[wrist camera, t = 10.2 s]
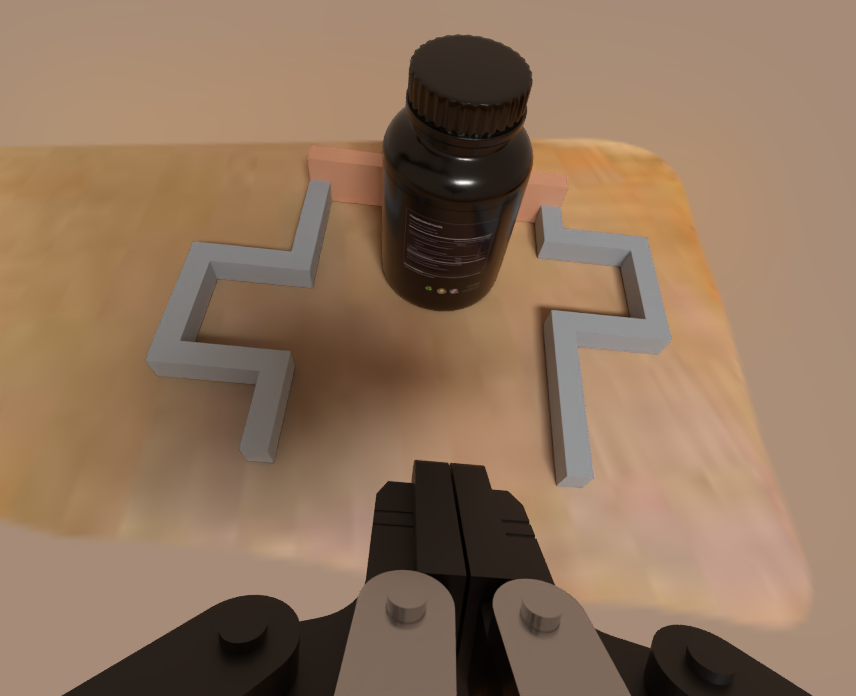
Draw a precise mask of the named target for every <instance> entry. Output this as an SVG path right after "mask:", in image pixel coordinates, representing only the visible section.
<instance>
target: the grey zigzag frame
mask: <svg viewBox="0 0 856 696" xmlns="http://www.w3.org/2000/svg"><path fill="white" fill-rule="evenodd" d="M307 160H308V167H309V174H310V182H309V186H308V190H307V193H306V197H305V201H304V205H303V209H302V212H301V216H300V220H299V224H298V227H297V231H296V235H295V239H294V243H293V246H292V250H291V251H283V250H273V249H263V248H254V247H244V246H234V245H225V244H215V243H205V242H196V241H193V244H192V246H191V249H190V251H189V253H188V256H187V258H186V261H185V263H184V266H183V268H182V271H181V273H180V275H179V278H178V280H177V283H176V285H175V288H174V290H173V293H172V295H171V298H170V300H169V302H168V305H167V307H166V310H165V312H164V315H163V317H162V320H161V322H160V325H159V327H158V329H157V332H156V334H155V337H154V339H153V342H152V344H151V347H150V349H149V351H148V354H147V356H146V359H145V361H146V362H147V364H148V365H149V366H150V368H151V369H152V370H153V371H154V373H155V374H156V375H157V376H165V377H177V378H188V379H199V380H210V381H221V382H233V383H244V384H255V385H256V387H255V390H254V394H253V398H252V402H251V405H250V409H249V413H248V417H247V421H246V424H245V428H244V432H243V436H242V440H241V443H240V447H239V450H240V452H241V453H242V455H243V456H244V457H245V459H246V460H247V461H256V462H269V463H274V459H275V455H276V450H277V446H278V441H279V437H280V432H281V428H282V423H283V419H284V414H285V410H286V405H287V401H288V396H289V392H290V387H291V383H292V378H293V374H294V369H295V364H294V361H293V357H292V353H291V351H284V350H273V349H263V348H252V347H241V346H230V345H220V344H209V343H198V342H195V341H196V338H197V335H198V332H199V330H200V327H201V324H202V321H203V318H204V316H205V313H206V310H207V307H208V304H209V301H210V299H211V296H212V293H213V290H214V287H215V284H216V282H217V279H225V280H235V281H246V282H256V283H266V284H276V285H286V286H296V287H306V288H313V284H314V279H315V275H316V270H317V266H318V261H319V257H320V252H321V248H322V243H323V239H324V234H325V230H326V225H327V221H328V216H329V212H330V207H331V203H332V201H339V202H348V203H357V204H366V205H376V206H382V153H374V152H366V151H357V150H348V149H340V148H331V147H322V146H313V145H311V147H310V151H309V154H308V158H307ZM567 190H568V181H567V174H558V173H549V172H540V171H531V175H530V178H529V181H528V184H527V188H526V191H525V194H524V197H523V200H522V203H521V206H520V209H519V212H518V215H517V218H516V221H522V222H532V223H535V233H536V245H537V257H538V258H542V259H552V260H561V261H571V262H580V263H590V264H599V265H609V266H618V267H620V268H621V273H622V278H623V283H624V288H625V293H626V299H627V304H628V309H629V314H630V318H628V317H617V316H607V315H597V314H587V313H577V312H567V311H557V310H551V312H550V313H549V315H548V317H547V319H546V321H545V323H544V325H543V329H544V342H545V354H546V366H547V378H548V390H549V402H550V414H551V426H552V438H553V450H554V462H555V474H556V486H565V487H578V488H582V487H584V486H585V485H586V484H587V483H589V482H590V481H591V480H593V479H594V474H593V466H592V458H591V450H590V442H589V434H588V426H587V418H586V410H585V402H584V394H583V386H582V378H581V370H580V362H579V353H578V347H585V348H595V349H605V350H616V351H626V352H637V353H647V354H657V355H658V354H659V353H660V352H661V351H662V350H663V349H664V348H665V347H666V346H667V345H668V344H669V343H670V342H671V341H672V338H671V334H670V330H669V325H668V321H667V317H666V313H665V309H664V305H663V301H662V297H661V293H660V288H659V284H658V280H657V276H656V272H655V268H654V264H653V260H652V256H651V252H650V247H649V243H648V239H647V237H639V236H630V235H621V234H612V233H603V232H593V231H584V230H575V229H566V228H563V224H562V216H561V208H560V207H561V204H562V202H563V200H564V197H565V195H566V193H567Z"/></svg>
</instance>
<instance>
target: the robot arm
mask: <svg viewBox="0 0 856 696" xmlns="http://www.w3.org/2000/svg"><path fill="white" fill-rule="evenodd" d="M62 696H812V695H810V694H809V693H807V692H806V691H804V690H803V689H801V688H799V687H797V686H796V685H795V684H793V683H792V682H790V681H788V680H787V679H785V678H783V677H782V676H781V675H779V674H777V673H776V672H774V671H773V670H771V669H769V668H768V667H766V666H765V665H763V664H761V663H760V662H758V661H757V660H755V659H754V658H752V657H750V656H749V655H747V654H746V653H744V652H743V651H741V650H740V649H738V648H736V647H735V646H733V645H732V644H730V643H728V642H727V641H725V640H723V639H722V638H720V637H718V636H716V635H714V634H712V633H710V632H707V631H705V630H702V629H699V628H695V627H691V626H686V625H670V626H666V627H663V628H661V629H660V630H658V631H657V632H656V634H655V635H654V638H653V640H652V644H651V648H648V647H645V646H642V645H638V644H635V643H632V642H629V641H626V640H623V639H620V638H617V637H614V636H611V635H608V634H606V633H603V632H601V631H599V630H597V629H595V628H594V626H593V625H592V623H591V621H590V619H589V617H588V616H587V614H586V612H585V610H584V609H583V607H582V606H581V605H580V604H579V603H578V601H577V600H576V599H574V598H573V597H572V596H571V595H570V594H568V593H567V592H565V591H564V590H562V589H560V588H559V587H557V586H555V584H554V582H553V579H552V577H551V574H550V572H549V569H548V567H547V564H546V562H545V559H544V557H543V554H542V552H541V549H540V547H539V544H538V542H537V539H535V534H534V532H533V529H532V527H531V525H529V519H528V517H527V514H526V512H525V509H524V507H523V505H522V504H521V503H520V502H519V501H518V500H517V499H516V498H515V497H514V496H513V495H512V494H510V493H509V492H508V491H503V490H492V488H491V485H490V482H489V479H488V475H487V472H486V469H485V467H484V466H481V465H469V464H458V463H450V465H449V464H448V463H445V462H433V461H421V460H414V465H413V473H412V482H411V483H404V482H392V481H388V482H387V483H386V484H385V485H384V486H383V487H382V488H381V489H380V491H379V492H378V493H377V494H376V502H375V510H374V518H373V526H372V534H371V542H370V551H369V559H368V567H367V575H366V581H365V585H364V586H363V588H362V590H361V591H360V593H359V596H358V597H357V598H356V599H355V600H354V601H353V602H352V603H351V604H350V605H348V606H347V607H345V608H344V609H342V610H340V611H338V612H336V613H333V614H331V615H328V616H324V617H320V618H315V619H310V620H305V621H300V622H299V619H298V617H297V615H296V613H295V612H294V610H293V609H292V608H291V607H290V606H289V605H287V604H286V603H284V602H283V601H281V600H278V599H276V598H273V597H269V596H263V595H246V596H239V597H236V598H232V599H229V600H226V601H223V602H221V603H219V604H217V605H215V606H213V607H211V608H209V609H208V610H206V611H204V612H203V613H201V614H199V615H198V616H196V617H194V618H192V619H191V620H189V621H187V622H186V623H184V624H183V625H181V626H179V627H177V628H176V629H174V630H172V631H171V632H169V633H167V634H165V635H164V636H162V637H160V638H159V639H157V640H155V641H154V642H152V643H151V644H148V645H147V646H145V647H143V648H142V649H140V650H138V651H137V652H135V653H133V654H132V655H130V656H128V657H126V658H125V659H123V660H121V661H120V662H118V663H116V664H115V665H113V666H111V667H109V668H108V669H106V670H104V671H103V672H101V673H99V674H98V675H96V676H94V677H93V678H91V679H89V680H87V681H86V682H84V683H83V684H81V685H79V686H77V687H76V688H74V689H72V690H71V691H69V692H67V693H65V694H64V695H62Z"/></svg>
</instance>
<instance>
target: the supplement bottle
mask: <svg viewBox="0 0 856 696" xmlns="http://www.w3.org/2000/svg"><path fill="white" fill-rule="evenodd" d="M531 87H532V72H531V71H530V69H529V65H528V64H527V63H526V62H525V59H524V58H522V57H521V56H520V55H519V53H517V52H515V51H513V50H512V49H511V48H510V47H508V46H505V45H504V44H502V43H500V42H496V41H494V40H491V39H487V38H483V37H480V36H471V35H458V34H457V35H453V36H451V35H447V36H444V37H438V38H435V39H434V40H430V41H427V42H426V44H423V45H421V46H420V48H419V49H417V50H415V52H414V55H413V56H412V57H411V60H410V67H409V82H408V89H407V93H406V107H404V108H403V109H402V110H401V111H400V112H399V113H398V114H397V115H396V116H395V117H394V119H393V120H392V121H391V123H390V125H389V126H388V128H387V131H386V133H385V136H384V140H383V151H382V265H383V270H384V274H385V276H386V278H387V280H388V282H389V284H390V285H391V287H392V288H393V289H394V290H395V291H396V292H397V293H398V294H399V295H400V296H401V297H402V298H404V299H405V300H407V301H408V302H410V303H412V304H414V305H416V306H418V307H421V308H424V309H428V310H433V311H455V310H460V309H463V308H466V307H469V306H471V305H473V304H475V303H477V302H478V301H480V300H481V299H482V298H484V297H485V296H486V295H487V294H488V292H489V291H490V290H491V288H492V287H493V285H494V283H495V281H496V279H497V276H498V273H499V270H500V267H501V264H502V261H503V258H504V255H505V252H506V249H507V246H508V243H509V240H510V237H511V234H512V231H513V228H514V224H515V221H516V218H517V215H518V212H519V209H520V206H521V203H522V200H523V197H524V194H525V191H526V188H527V184H528V181H529V178H530V175H531V171H532V166H533V150H532V145H531V142H530V139H529V136H528V134H527V132H526V130H525V128H524V127H523V125H524V122H525V118H526V114H527V102H528V98H529V94H530V91H531Z"/></svg>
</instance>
